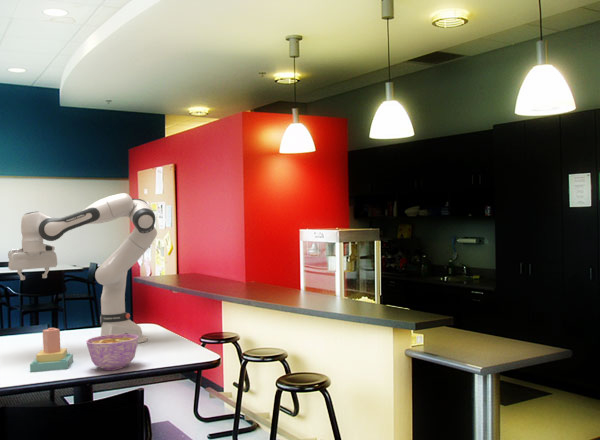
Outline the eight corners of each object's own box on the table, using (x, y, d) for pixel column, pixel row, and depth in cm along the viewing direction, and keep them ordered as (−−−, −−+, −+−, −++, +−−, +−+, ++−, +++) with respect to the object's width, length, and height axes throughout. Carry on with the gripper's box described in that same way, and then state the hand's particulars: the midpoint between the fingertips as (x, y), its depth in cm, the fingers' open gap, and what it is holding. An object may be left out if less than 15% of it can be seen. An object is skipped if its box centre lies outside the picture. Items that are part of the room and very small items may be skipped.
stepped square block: (73, 361, 253) (72, 346, 253) (67, 368, 239) (67, 353, 239) (37, 364, 250) (37, 349, 250) (30, 372, 236) (29, 356, 236)
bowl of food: (100, 361, 249) (99, 334, 249) (146, 361, 247) (145, 333, 247) (77, 374, 229) (76, 344, 229) (128, 373, 227) (127, 343, 227)
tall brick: (55, 349, 248) (54, 326, 248) (60, 351, 244) (59, 327, 244) (43, 351, 244) (42, 328, 244) (48, 353, 241) (47, 329, 241)
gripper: (10, 249, 258) (11, 281, 258) (58, 246, 272) (59, 277, 272) (5, 249, 262) (6, 280, 262) (52, 246, 276) (54, 276, 276)
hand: (33, 278), depth 267 cm, fingers open, 8 cm apart
